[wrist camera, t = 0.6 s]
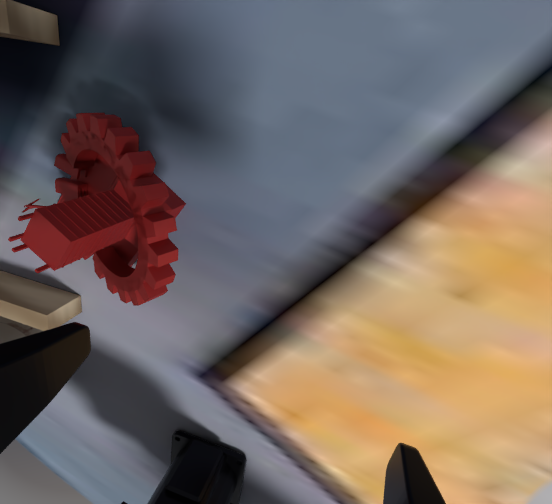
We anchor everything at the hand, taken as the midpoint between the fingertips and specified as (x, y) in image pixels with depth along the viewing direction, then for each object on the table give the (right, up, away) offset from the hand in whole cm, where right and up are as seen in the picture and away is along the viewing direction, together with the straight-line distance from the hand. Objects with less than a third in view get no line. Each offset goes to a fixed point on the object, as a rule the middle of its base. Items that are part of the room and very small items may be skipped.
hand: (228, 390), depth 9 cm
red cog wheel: (-8, +7, +14) cm, 17 cm away
